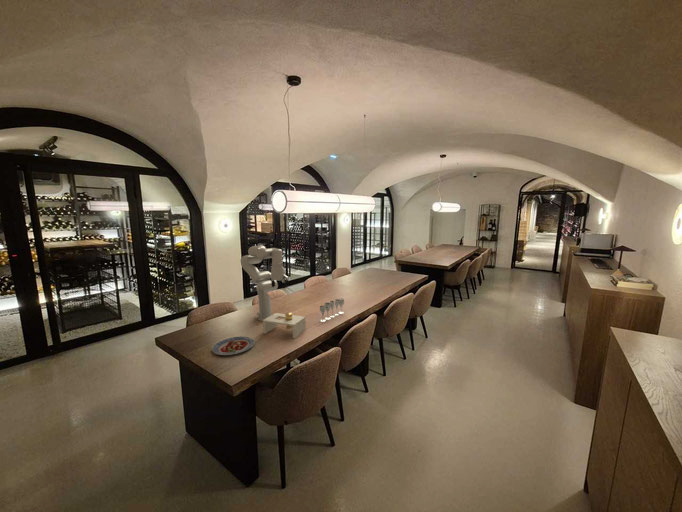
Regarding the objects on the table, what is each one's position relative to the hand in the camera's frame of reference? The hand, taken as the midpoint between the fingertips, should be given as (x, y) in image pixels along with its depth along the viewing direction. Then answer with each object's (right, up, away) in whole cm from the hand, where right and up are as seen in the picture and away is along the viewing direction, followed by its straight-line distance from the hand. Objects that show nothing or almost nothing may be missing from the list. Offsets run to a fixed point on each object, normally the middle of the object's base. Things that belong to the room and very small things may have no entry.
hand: (278, 287), depth 218 cm
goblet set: (+41, -27, +20) cm, 53 cm away
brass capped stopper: (+10, -28, -10) cm, 32 cm away
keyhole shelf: (+6, -32, -8) cm, 33 cm away
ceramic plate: (-22, -37, -32) cm, 53 cm away
